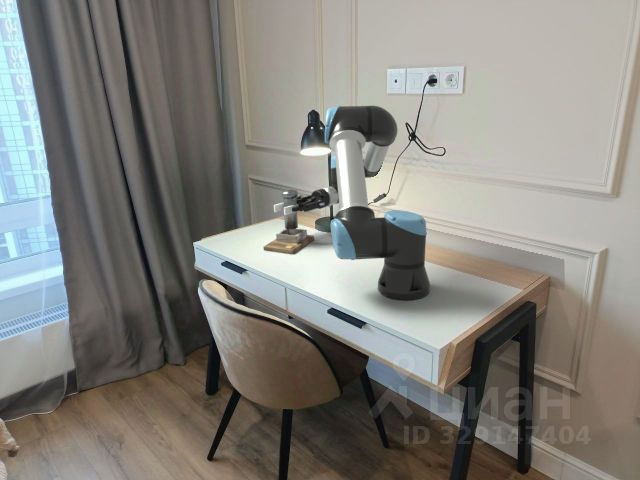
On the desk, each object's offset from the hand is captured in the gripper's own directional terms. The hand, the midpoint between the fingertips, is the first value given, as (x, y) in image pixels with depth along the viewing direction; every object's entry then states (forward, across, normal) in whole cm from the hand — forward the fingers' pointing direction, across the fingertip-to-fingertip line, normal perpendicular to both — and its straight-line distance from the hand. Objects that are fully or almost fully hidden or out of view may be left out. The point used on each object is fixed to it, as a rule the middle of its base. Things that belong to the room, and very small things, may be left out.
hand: (279, 209), depth 177 cm
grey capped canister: (-5, 0, -8) cm, 10 cm away
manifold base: (-3, -1, -14) cm, 15 cm away
